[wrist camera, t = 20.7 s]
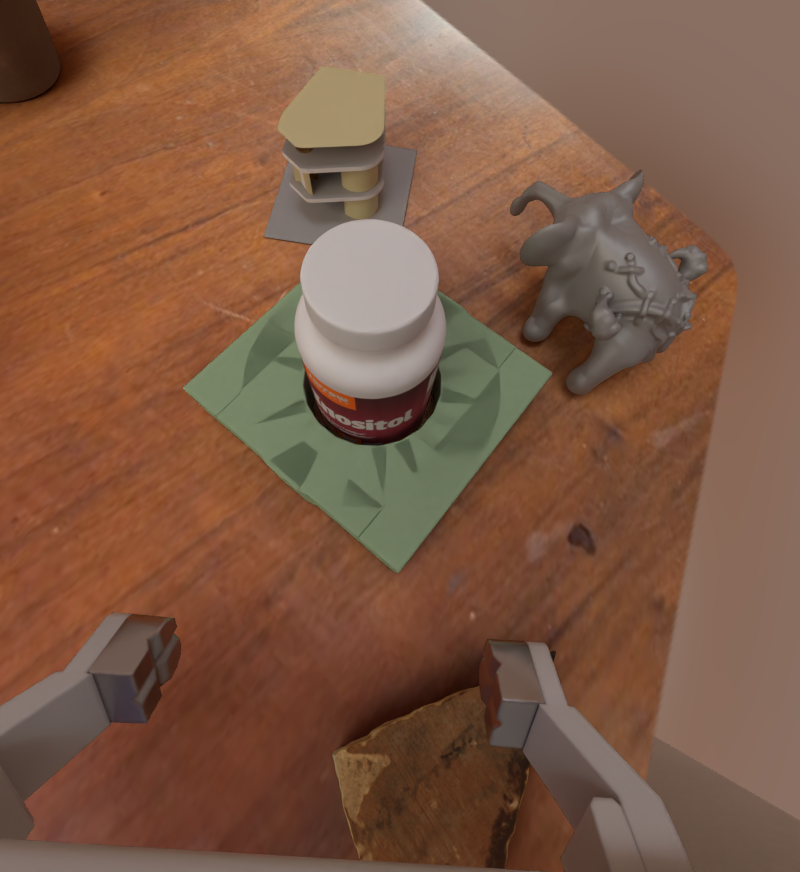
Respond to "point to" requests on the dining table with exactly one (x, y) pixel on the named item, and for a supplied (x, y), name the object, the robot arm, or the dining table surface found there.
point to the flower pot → (25, 52)
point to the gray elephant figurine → (607, 279)
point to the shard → (433, 787)
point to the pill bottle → (370, 329)
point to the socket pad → (367, 464)
